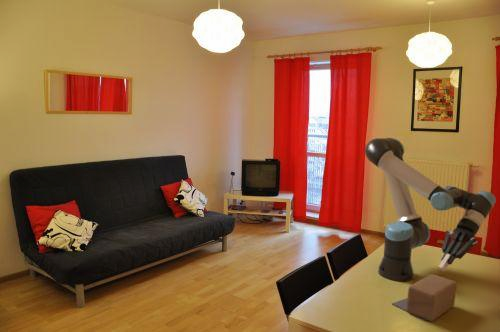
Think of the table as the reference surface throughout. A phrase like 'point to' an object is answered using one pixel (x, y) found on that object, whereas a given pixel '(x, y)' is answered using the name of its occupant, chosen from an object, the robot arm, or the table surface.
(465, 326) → the table surface
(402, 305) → the mat
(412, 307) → the wooden block
